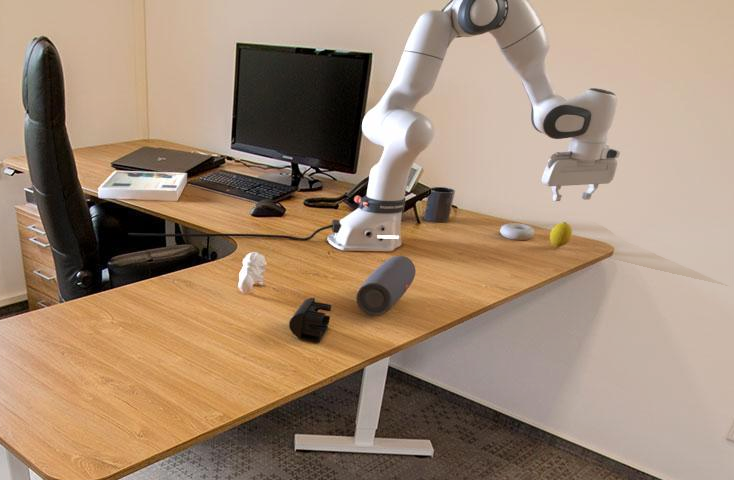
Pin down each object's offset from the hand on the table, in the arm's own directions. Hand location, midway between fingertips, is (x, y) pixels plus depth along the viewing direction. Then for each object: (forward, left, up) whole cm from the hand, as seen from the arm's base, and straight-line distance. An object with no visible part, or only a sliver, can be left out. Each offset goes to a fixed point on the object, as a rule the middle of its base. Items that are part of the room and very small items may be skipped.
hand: (570, 199), depth 202 cm
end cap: (-94, -50, -15) cm, 108 cm away
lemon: (0, 0, -15) cm, 15 cm away
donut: (-6, +12, -15) cm, 20 cm away
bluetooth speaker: (-70, -37, -15) cm, 81 cm away
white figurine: (-101, -21, -15) cm, 104 cm away
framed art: (-118, +88, -15) cm, 148 cm away
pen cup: (-22, +34, -15) cm, 43 cm away
